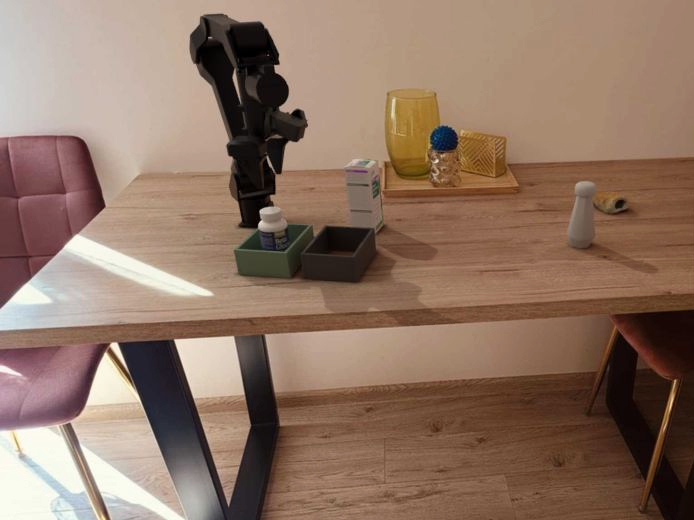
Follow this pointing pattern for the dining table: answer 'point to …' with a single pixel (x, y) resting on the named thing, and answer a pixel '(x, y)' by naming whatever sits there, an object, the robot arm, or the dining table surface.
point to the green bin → (273, 253)
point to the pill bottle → (273, 230)
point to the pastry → (610, 202)
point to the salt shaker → (582, 216)
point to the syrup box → (364, 193)
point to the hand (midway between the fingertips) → (270, 181)
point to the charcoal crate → (338, 266)
